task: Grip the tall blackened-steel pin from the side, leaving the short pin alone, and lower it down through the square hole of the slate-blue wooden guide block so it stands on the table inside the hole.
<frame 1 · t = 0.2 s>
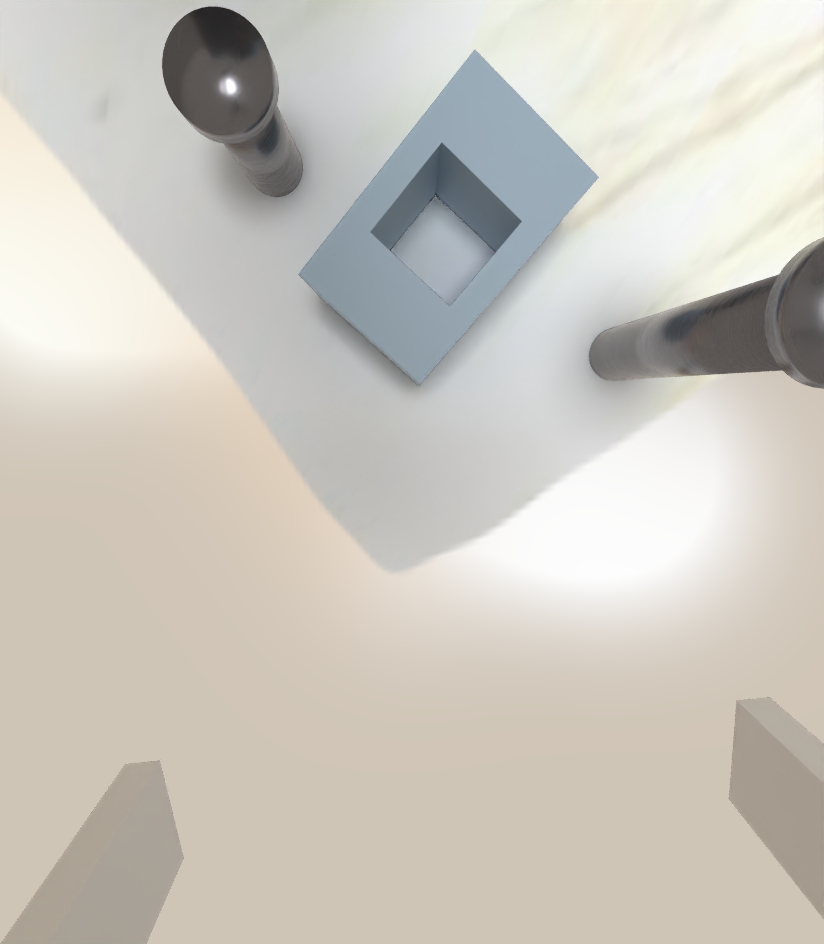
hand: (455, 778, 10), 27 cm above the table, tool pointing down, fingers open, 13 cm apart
tall pin: (614, 354, 35), on the table
short pin: (275, 166, 33), on the table
guide block: (438, 260, 34), on the table
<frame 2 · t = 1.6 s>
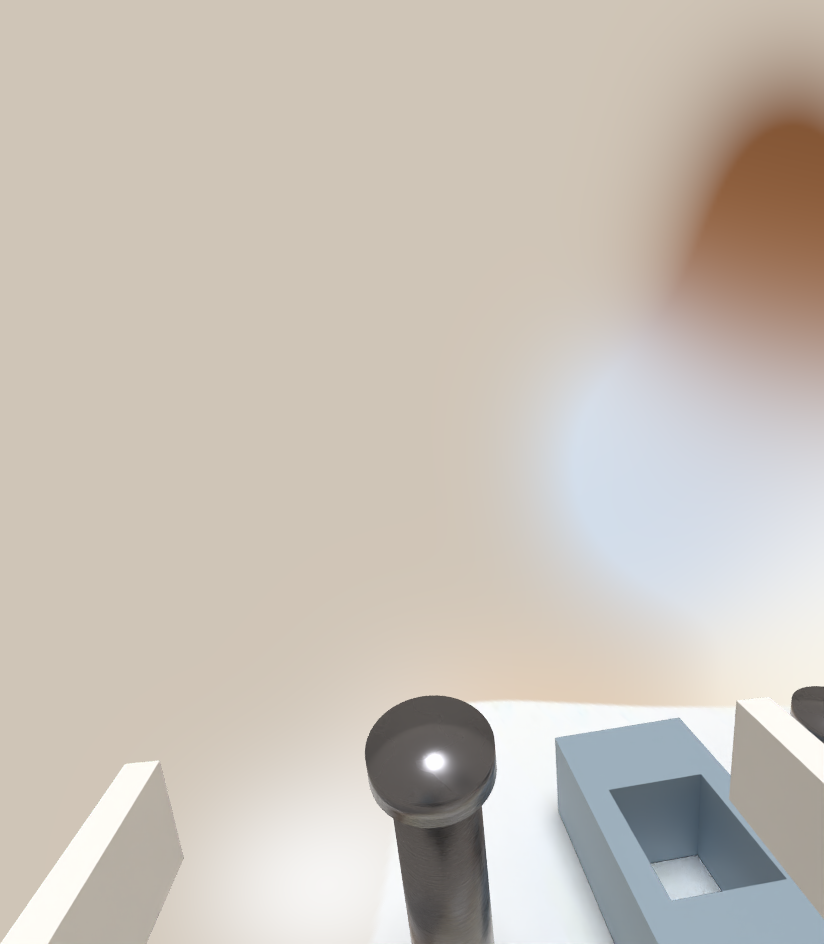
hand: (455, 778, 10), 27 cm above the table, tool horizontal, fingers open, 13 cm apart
guide block: (684, 916, 29), on the table
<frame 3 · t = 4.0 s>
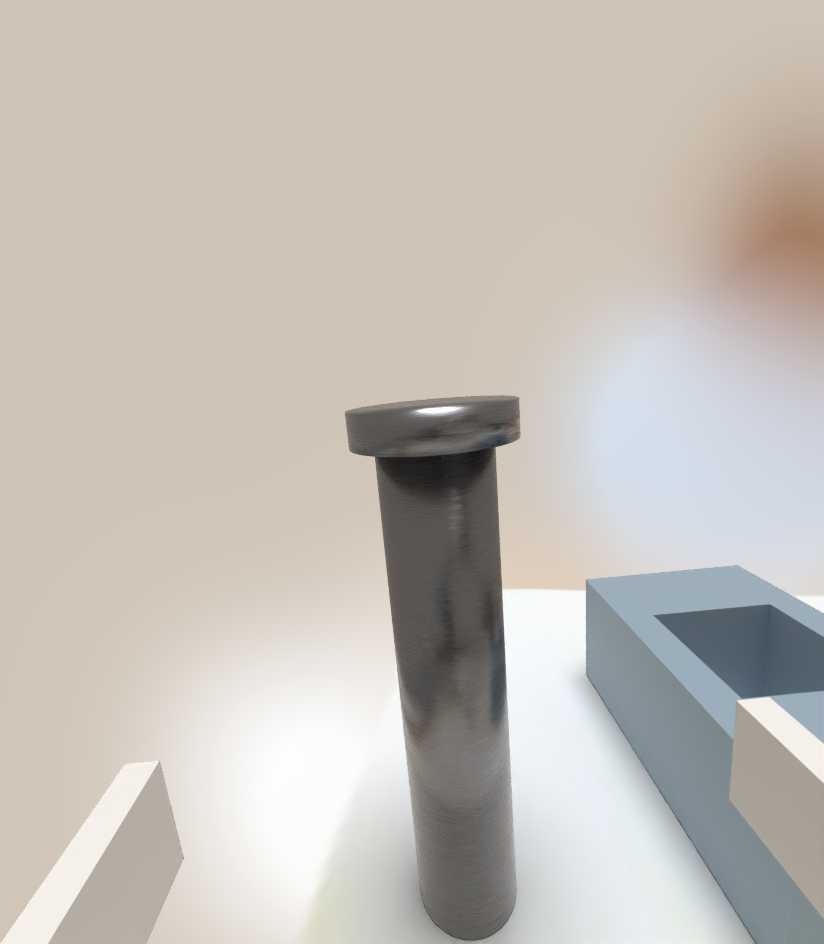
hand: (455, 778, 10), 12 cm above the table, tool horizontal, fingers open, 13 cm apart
tall pin: (467, 881, 19), on the table
guide block: (747, 766, 23), on the table
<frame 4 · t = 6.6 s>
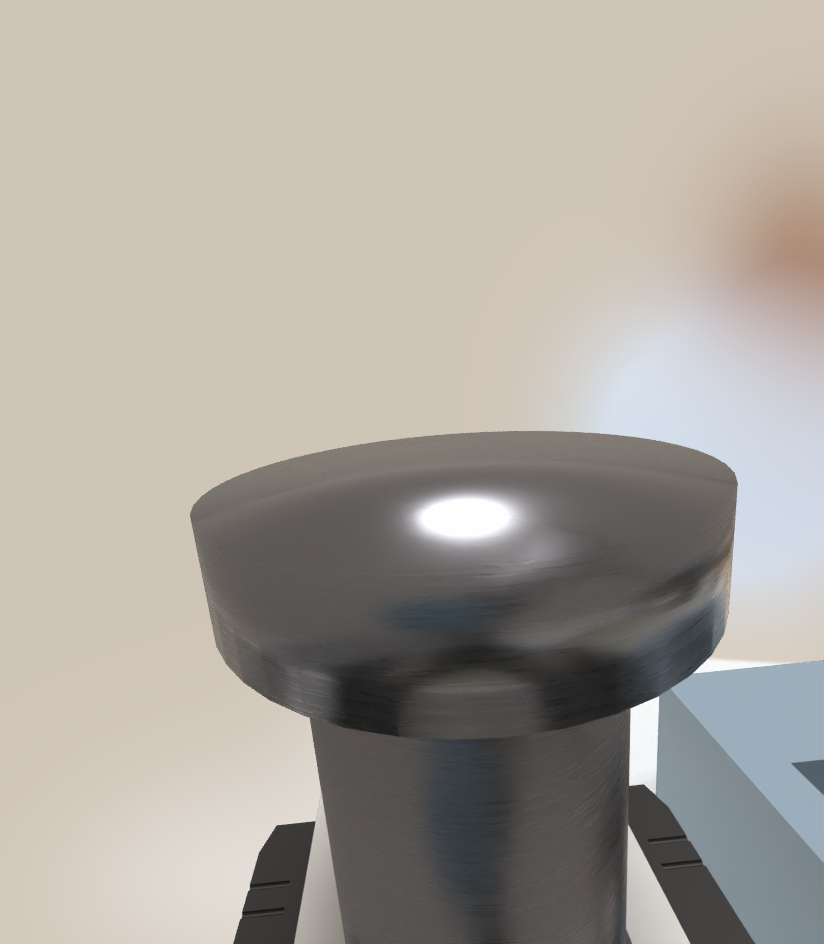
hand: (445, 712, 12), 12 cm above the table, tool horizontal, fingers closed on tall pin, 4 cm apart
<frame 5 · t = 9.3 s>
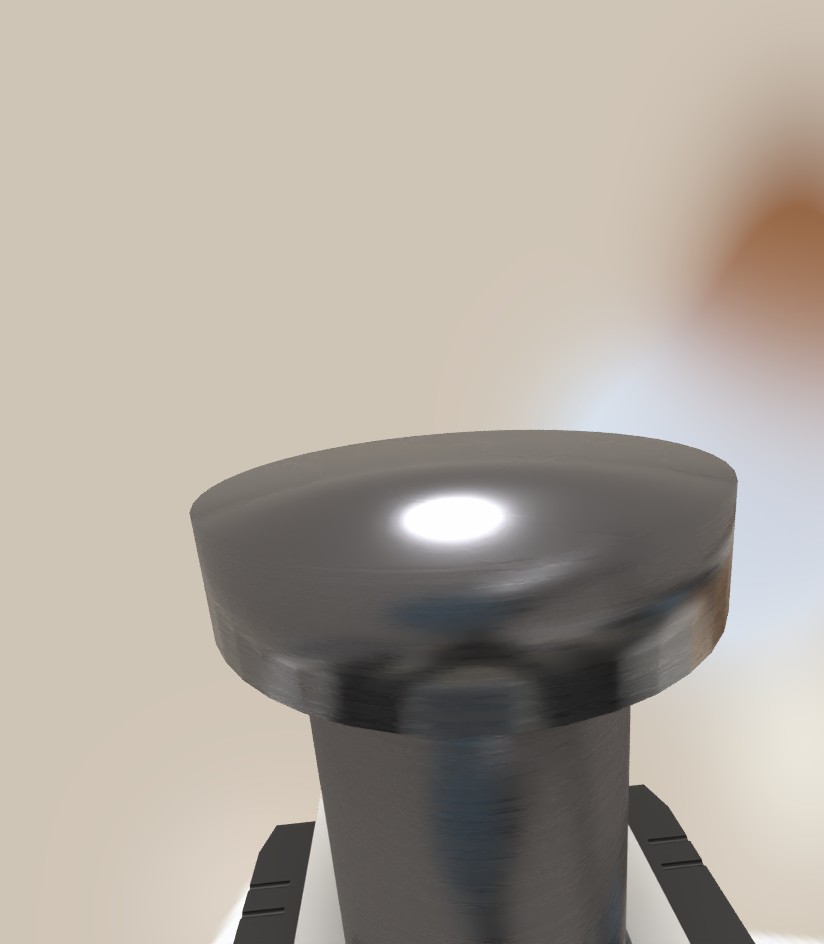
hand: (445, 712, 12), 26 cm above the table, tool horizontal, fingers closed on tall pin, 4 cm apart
when the fingers open (13 cm above the table, at t = 12.4 s): tall pin drops 1 cm, resting in guide block.
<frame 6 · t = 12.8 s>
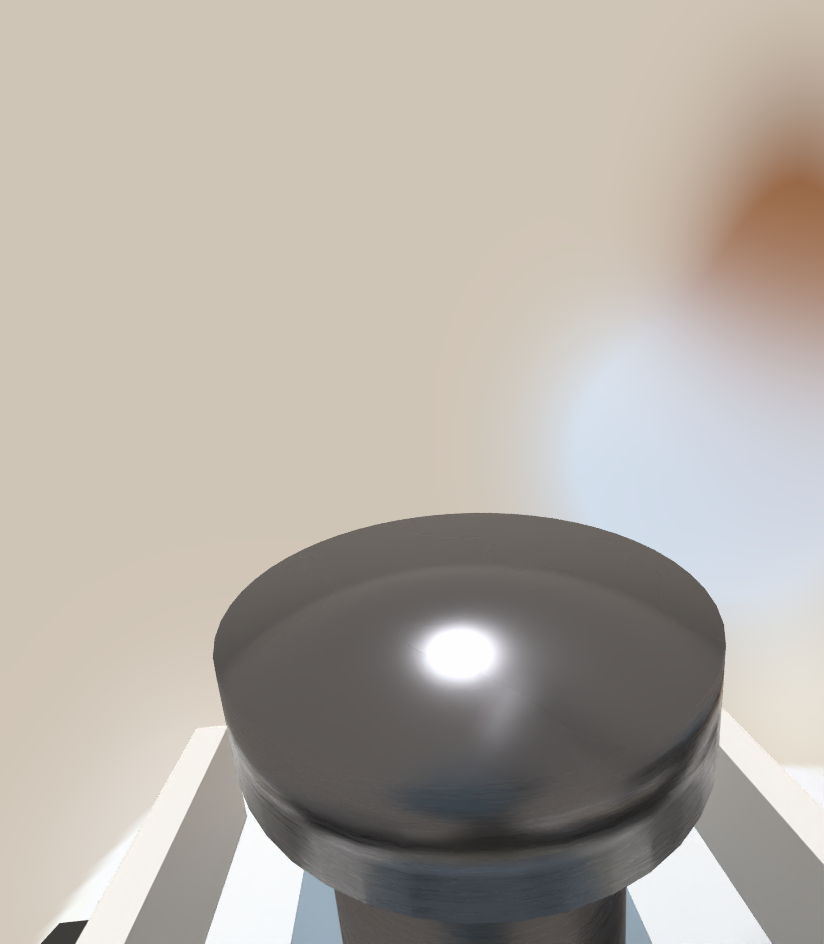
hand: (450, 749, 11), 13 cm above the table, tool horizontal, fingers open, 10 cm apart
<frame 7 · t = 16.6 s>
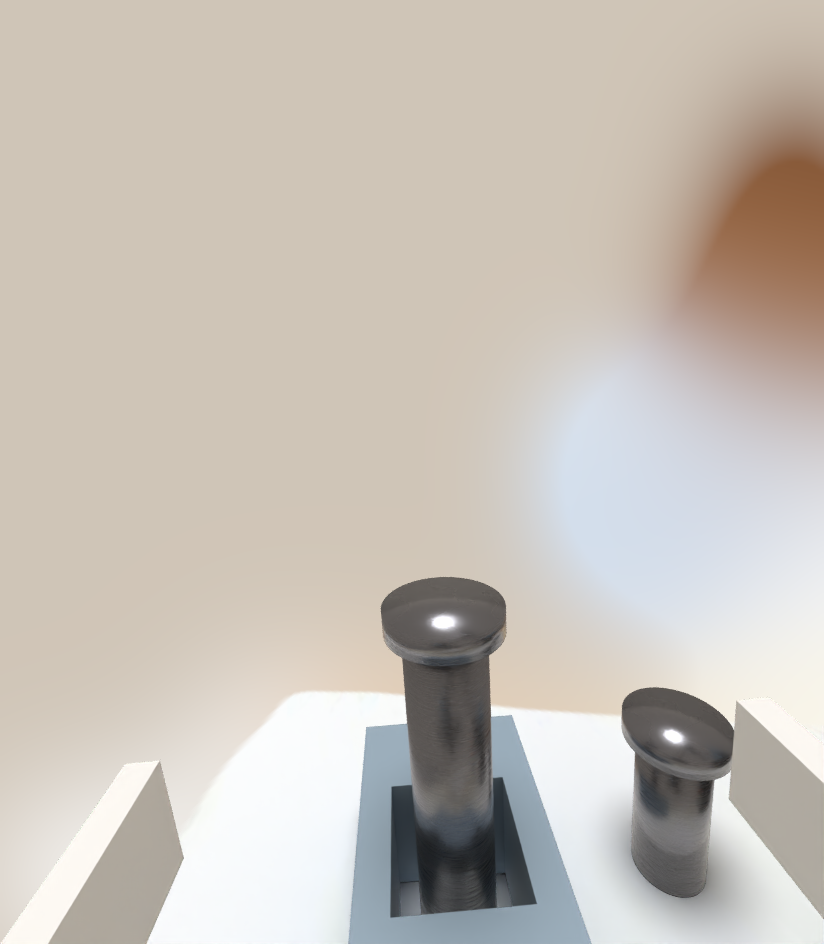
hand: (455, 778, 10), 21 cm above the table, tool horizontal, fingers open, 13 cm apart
tall pin: (460, 943, 24), resting in guide block
short pin: (667, 860, 28), on the table
guide block: (460, 942, 24), on the table
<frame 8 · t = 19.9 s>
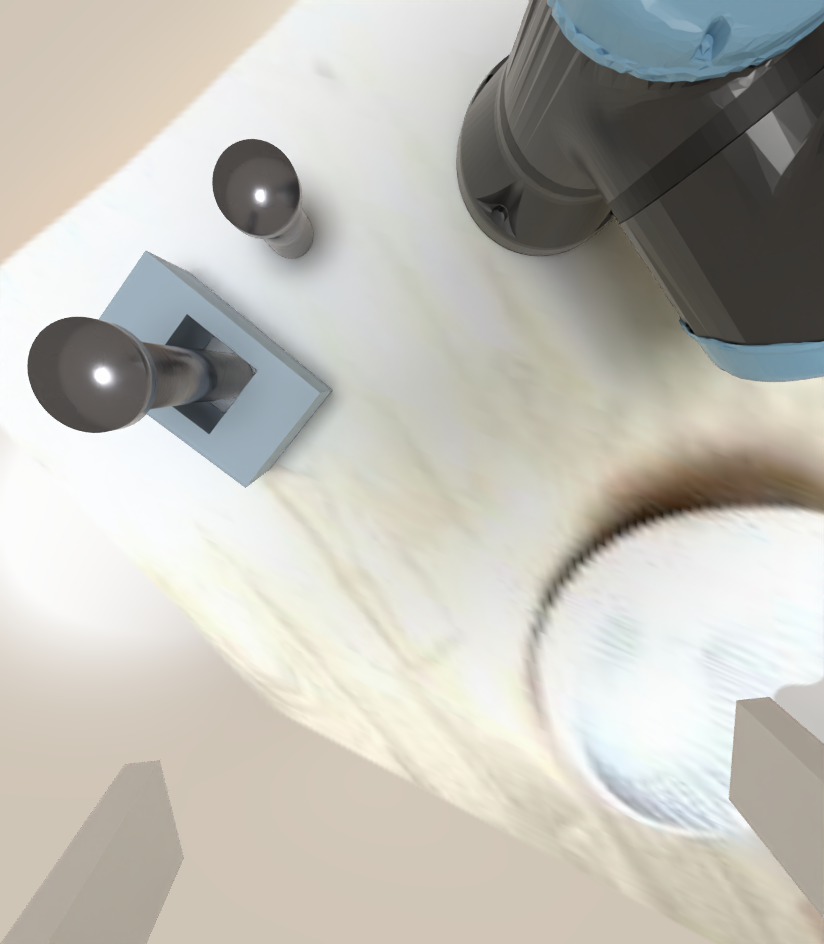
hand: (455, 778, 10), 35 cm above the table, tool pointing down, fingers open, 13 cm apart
tall pin: (231, 375, 42), resting in guide block
short pin: (290, 233, 39), on the table
guide block: (230, 375, 42), on the table
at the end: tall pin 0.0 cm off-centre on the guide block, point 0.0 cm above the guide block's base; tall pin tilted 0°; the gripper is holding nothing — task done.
